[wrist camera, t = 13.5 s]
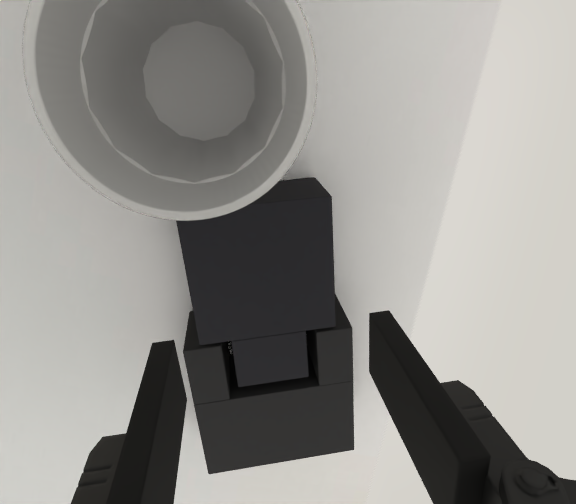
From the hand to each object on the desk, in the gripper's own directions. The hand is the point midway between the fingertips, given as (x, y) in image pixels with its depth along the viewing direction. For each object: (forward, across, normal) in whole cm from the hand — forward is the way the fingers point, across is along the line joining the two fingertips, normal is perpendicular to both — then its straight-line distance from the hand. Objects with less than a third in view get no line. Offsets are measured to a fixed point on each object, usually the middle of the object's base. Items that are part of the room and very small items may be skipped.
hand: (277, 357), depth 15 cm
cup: (+12, -2, +10) cm, 16 cm away
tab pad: (+12, 0, -2) cm, 12 cm away
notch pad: (+12, 0, -9) cm, 15 cm away
